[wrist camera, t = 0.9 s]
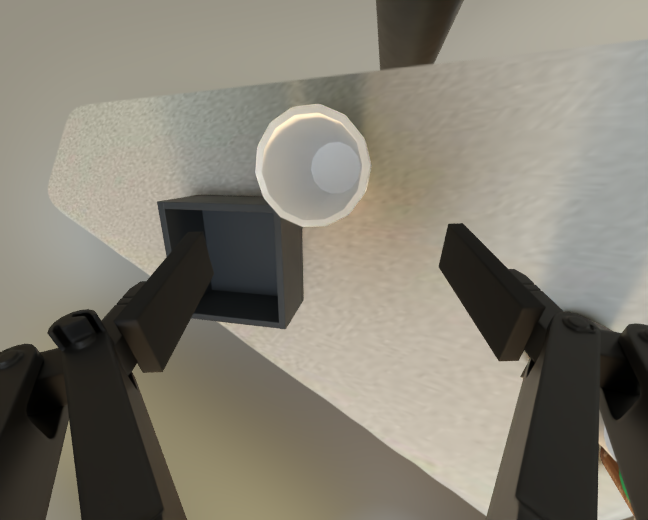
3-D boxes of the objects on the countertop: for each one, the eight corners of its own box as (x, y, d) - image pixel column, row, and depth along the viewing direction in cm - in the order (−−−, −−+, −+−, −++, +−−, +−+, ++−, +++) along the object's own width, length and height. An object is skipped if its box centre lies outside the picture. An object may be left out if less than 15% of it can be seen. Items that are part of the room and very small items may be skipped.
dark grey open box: (301, 197, 37) (280, 205, 30) (303, 300, 42) (285, 329, 34) (199, 194, 40) (156, 201, 32) (211, 291, 44) (177, 316, 37)
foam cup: (375, 123, 33) (369, 97, 21) (375, 205, 36) (371, 225, 23) (295, 130, 35) (247, 111, 23) (301, 208, 38) (262, 227, 25)
